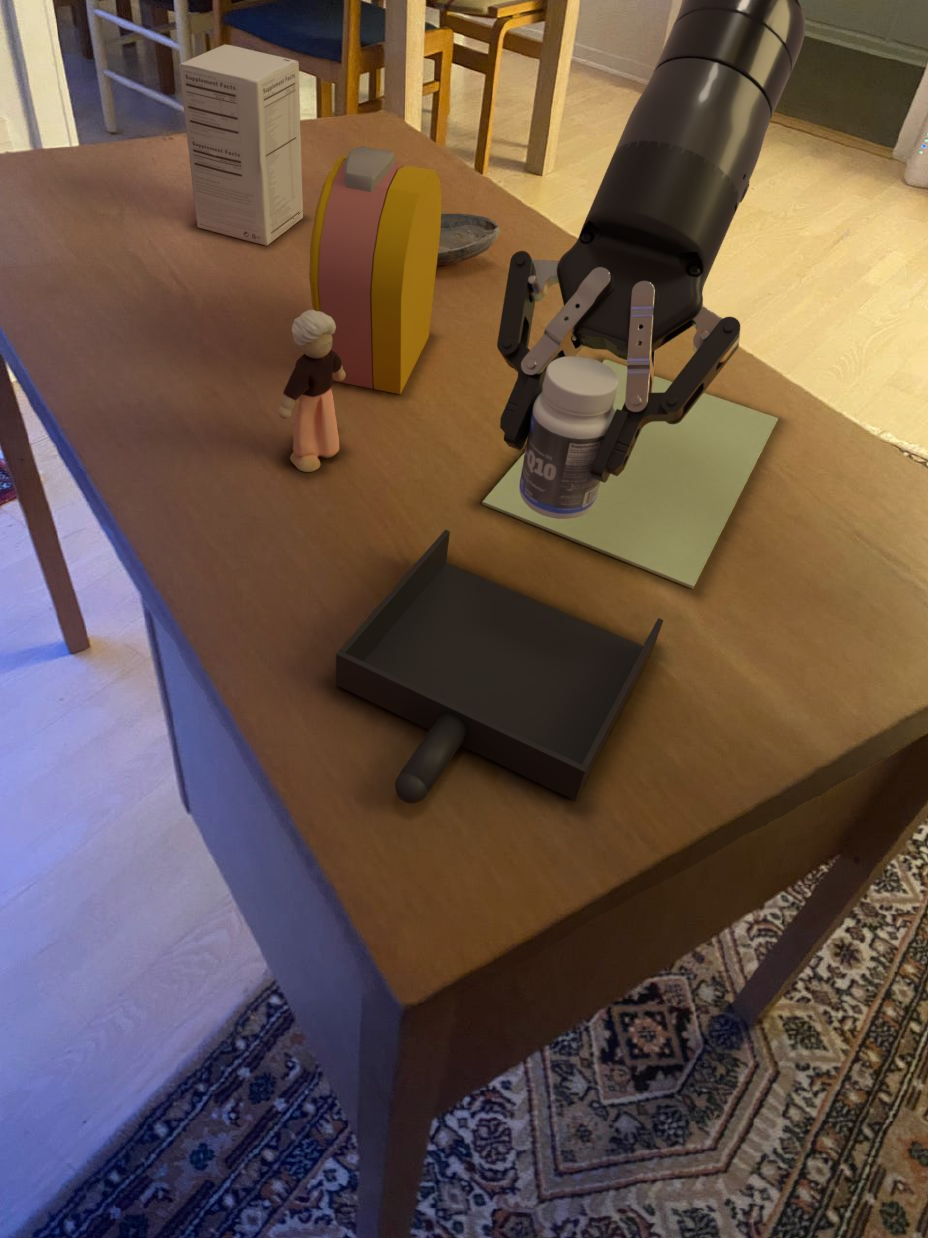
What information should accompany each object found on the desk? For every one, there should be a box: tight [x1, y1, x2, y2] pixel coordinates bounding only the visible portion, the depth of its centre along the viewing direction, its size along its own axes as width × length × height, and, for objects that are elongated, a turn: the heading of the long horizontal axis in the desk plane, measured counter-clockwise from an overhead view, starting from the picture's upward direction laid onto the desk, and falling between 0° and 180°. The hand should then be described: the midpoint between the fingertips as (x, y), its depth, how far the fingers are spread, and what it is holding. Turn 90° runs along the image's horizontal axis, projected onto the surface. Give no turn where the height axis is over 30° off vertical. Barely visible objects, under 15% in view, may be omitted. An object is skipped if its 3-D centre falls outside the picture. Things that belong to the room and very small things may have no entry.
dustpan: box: [335, 529, 665, 805], centre depth 57 cm, size 20×17×3 cm
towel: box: [481, 358, 779, 590], centre depth 79 cm, size 28×18×1 cm, turn 153°
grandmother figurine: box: [277, 309, 346, 473], centre depth 71 cm, size 8×4×13 cm, turn 160°
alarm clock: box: [308, 146, 443, 395], centre depth 81 cm, size 15×8×18 cm, turn 168°
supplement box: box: [178, 44, 304, 247], centre depth 99 cm, size 10×9×17 cm
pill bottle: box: [519, 355, 618, 519], centre depth 52 cm, size 5×5×8 cm
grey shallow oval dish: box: [437, 213, 502, 266], centre depth 102 cm, size 15×12×5 cm
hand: (555, 460), depth 51 cm, fingers closed on pill bottle, 4 cm apart
